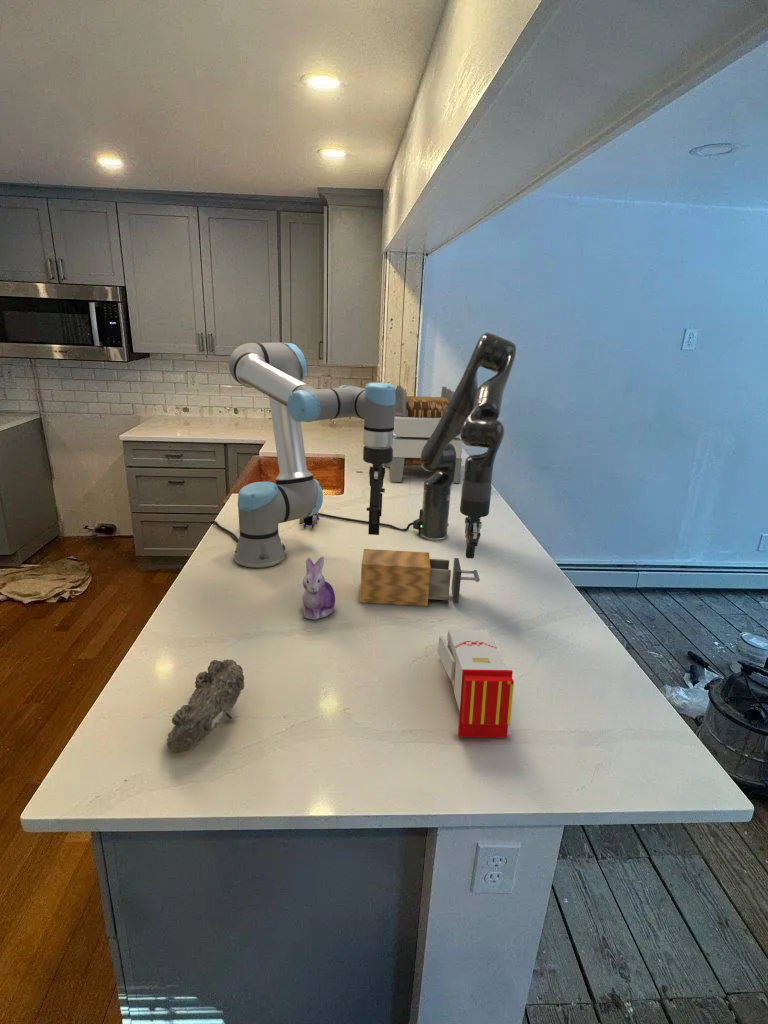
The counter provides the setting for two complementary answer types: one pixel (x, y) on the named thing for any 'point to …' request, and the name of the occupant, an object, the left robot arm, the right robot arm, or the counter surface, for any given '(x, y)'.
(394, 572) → the zigzag wood grain block
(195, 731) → the fossil
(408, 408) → the transformer
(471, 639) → the toy
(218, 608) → the counter surface
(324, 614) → the figurine
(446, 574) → the drawer
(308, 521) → the figurine character
